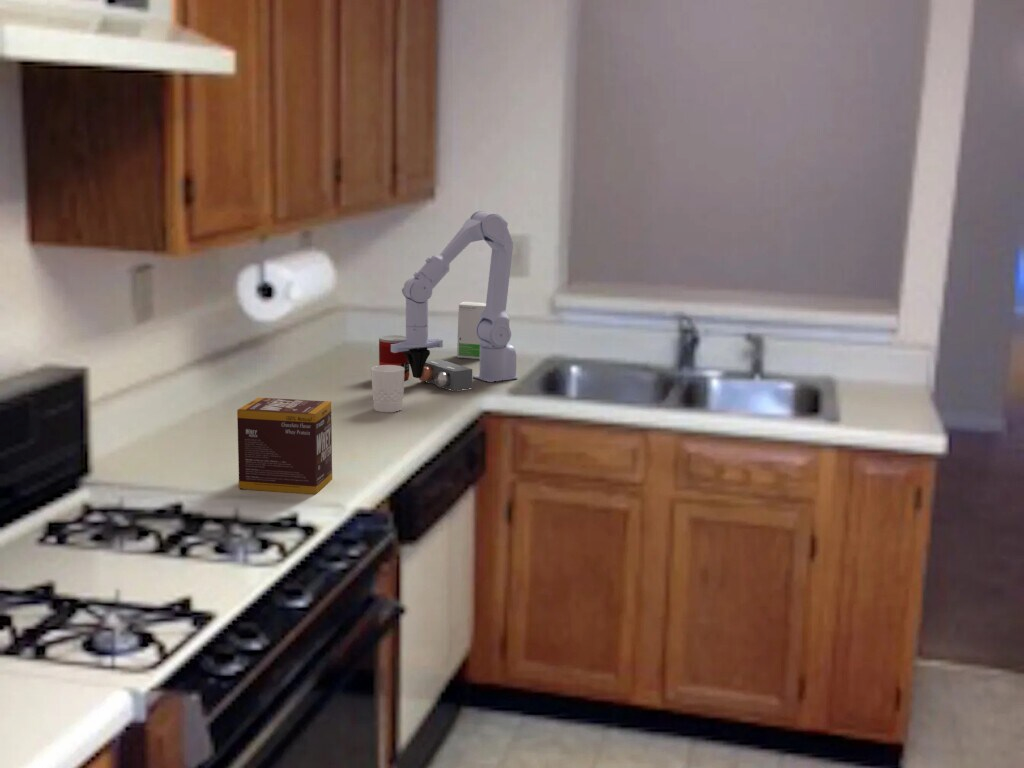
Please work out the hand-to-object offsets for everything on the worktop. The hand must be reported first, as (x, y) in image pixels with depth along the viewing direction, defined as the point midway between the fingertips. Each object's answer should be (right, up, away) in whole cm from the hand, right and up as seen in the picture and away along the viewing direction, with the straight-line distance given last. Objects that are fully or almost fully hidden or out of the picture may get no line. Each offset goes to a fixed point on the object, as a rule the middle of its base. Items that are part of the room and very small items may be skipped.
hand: (417, 377), depth 328 cm
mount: (+8, -2, +1) cm, 8 cm away
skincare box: (+13, +6, +39) cm, 41 cm away
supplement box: (-18, -21, -86) cm, 90 cm away
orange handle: (+4, -1, +3) cm, 5 cm away
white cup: (-5, -8, -26) cm, 28 cm away
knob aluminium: (+9, -2, -3) cm, 10 cm away
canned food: (-7, -1, +8) cm, 10 cm away
